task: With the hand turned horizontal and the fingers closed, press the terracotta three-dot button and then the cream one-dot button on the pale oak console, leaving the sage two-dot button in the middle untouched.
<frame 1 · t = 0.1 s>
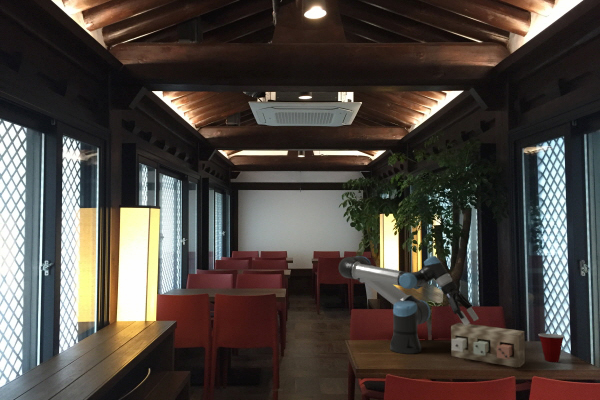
hand: (472, 322, 226), 15 cm above the table, tool tilted 35°, fingers open, 13 cm apart
button 2dots: (481, 347, 211), point 7 cm above the table, slide at 0.0 cm
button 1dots: (459, 343, 217), point 7 cm above the table, slide at 0.0 cm
console: (484, 361, 214), on the table
plastic cup: (551, 361, 215), on the table
button 3dots: (505, 350, 205), point 7 cm above the table, slide at 0.0 cm
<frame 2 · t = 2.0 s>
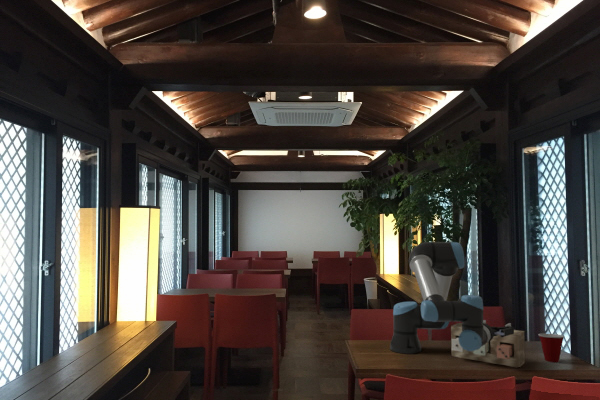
hand: (497, 324, 197), 20 cm above the table, tool horizontal, fingers open, 9 cm apart
nothing on the table moved.
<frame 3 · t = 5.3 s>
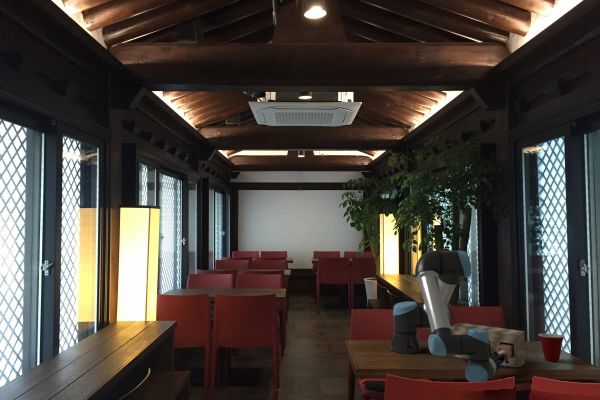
hand: (503, 353, 201), 7 cm above the table, tool horizontal, fingers closed
button 3dots: (505, 350, 205), point 7 cm above the table, slide at 0.1 cm, touching gripper
everything else where it was.
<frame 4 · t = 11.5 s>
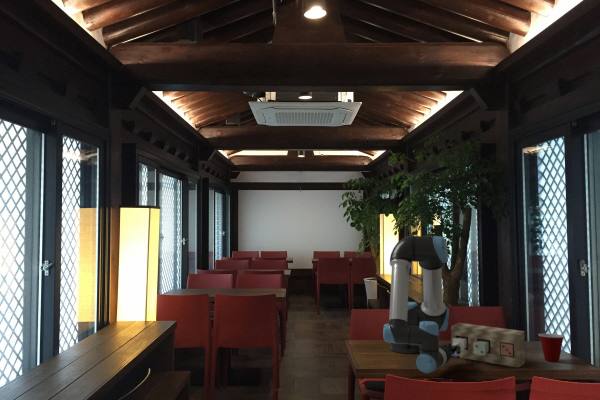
hand: (458, 345, 215), 7 cm above the table, tool horizontal, fingers closed
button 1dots: (461, 343, 219), point 7 cm above the table, slide at 1.7 cm, touching gripper
button 3dots: (508, 348, 210), point 7 cm above the table, slide at 6.2 cm
everything else where it was.
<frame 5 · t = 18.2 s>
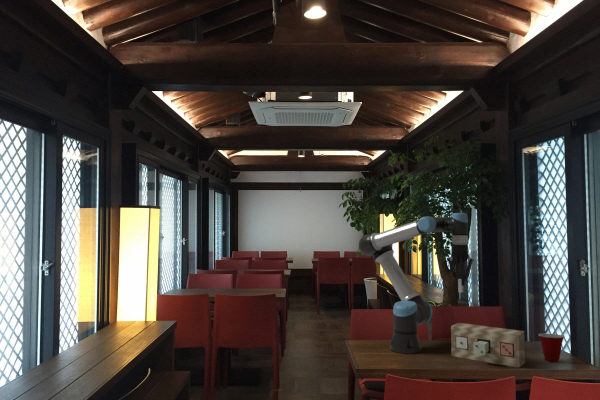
hand: (460, 292, 229), 29 cm above the table, tool pointing down, fingers closed
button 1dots: (464, 341, 222), point 7 cm above the table, slide at 6.2 cm
everything else where it was.
at the end: button 3dots slide at 6.2 cm; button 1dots slide at 6.2 cm; button 2dots slide at 0.0 cm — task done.
